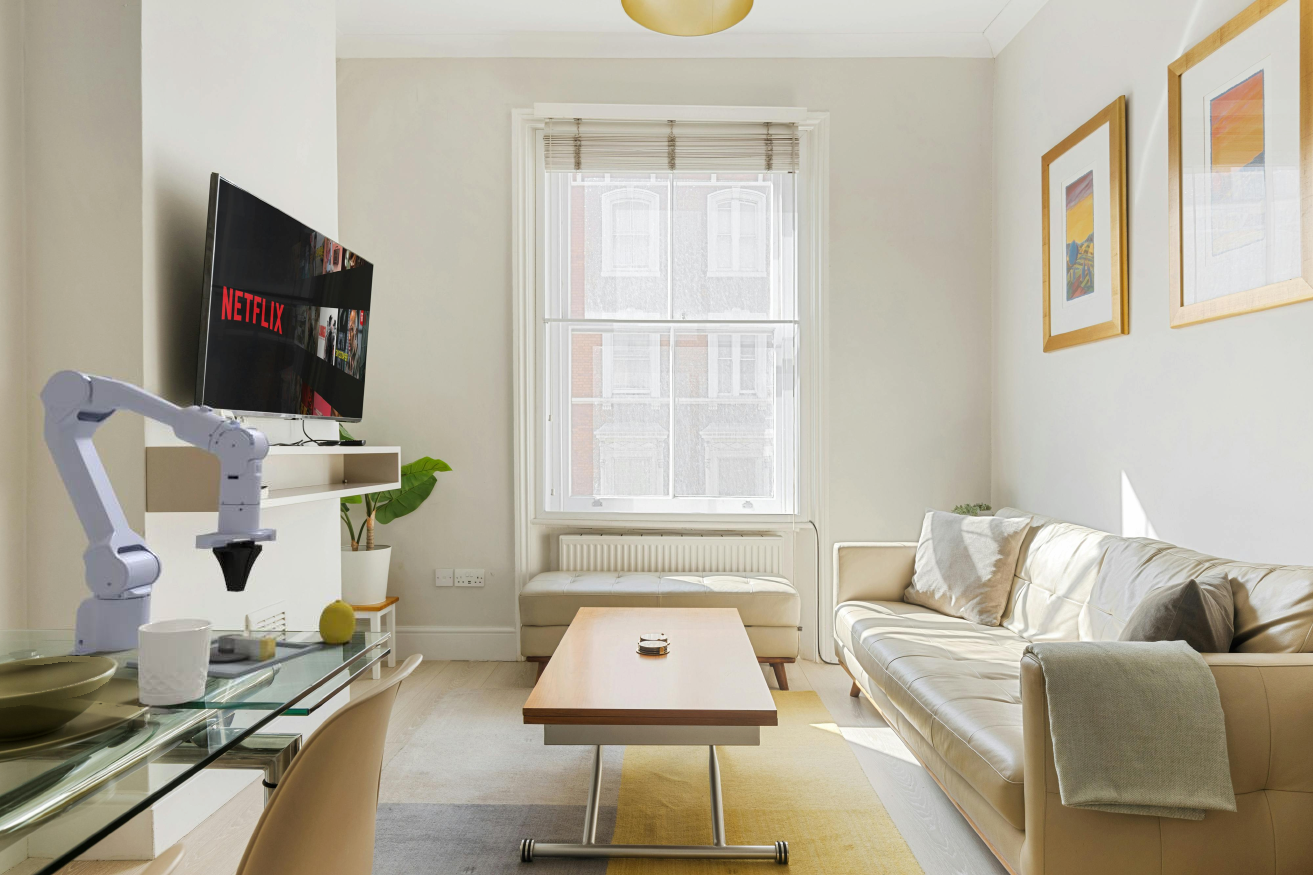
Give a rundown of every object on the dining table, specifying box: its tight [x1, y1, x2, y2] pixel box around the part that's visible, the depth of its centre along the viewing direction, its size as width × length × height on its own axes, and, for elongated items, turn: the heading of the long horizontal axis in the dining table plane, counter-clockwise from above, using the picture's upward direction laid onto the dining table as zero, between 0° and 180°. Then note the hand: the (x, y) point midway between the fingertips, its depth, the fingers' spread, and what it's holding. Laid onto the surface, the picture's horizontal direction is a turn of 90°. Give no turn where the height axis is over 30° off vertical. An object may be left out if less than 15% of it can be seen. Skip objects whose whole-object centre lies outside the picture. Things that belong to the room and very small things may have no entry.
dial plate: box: [125, 637, 323, 679], centre depth 115 cm, size 18×18×2 cm
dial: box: [209, 633, 277, 662], centre depth 115 cm, size 11×8×3 cm
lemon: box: [318, 599, 356, 645], centre depth 127 cm, size 6×6×8 cm
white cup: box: [137, 618, 214, 715], centre depth 96 cm, size 8×8×10 cm
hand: (235, 590), depth 121 cm, fingers closed
